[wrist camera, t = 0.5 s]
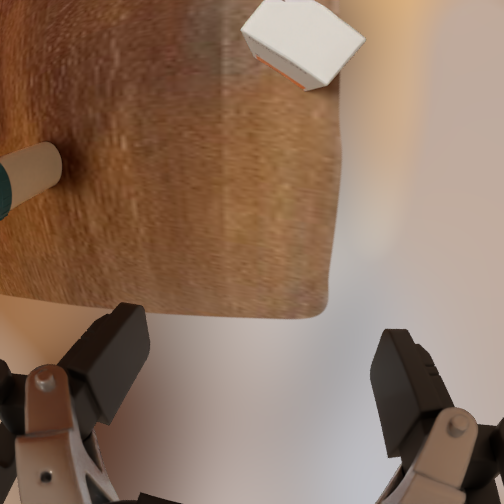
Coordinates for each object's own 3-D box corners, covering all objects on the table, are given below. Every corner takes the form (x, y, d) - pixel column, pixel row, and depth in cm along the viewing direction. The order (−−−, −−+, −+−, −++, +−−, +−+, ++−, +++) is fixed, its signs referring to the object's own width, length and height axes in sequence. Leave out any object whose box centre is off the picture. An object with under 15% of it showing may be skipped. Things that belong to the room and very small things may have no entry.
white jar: (29, 141, 28) (-32, 164, 19) (62, 141, 28) (-2, 164, 19) (31, 186, 31) (-25, 217, 22) (63, 189, 31) (5, 224, 22)
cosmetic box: (252, 58, 24) (235, 28, 13) (278, 25, 22) (279, -22, 11) (306, 94, 25) (327, 88, 14) (332, 61, 23) (370, 37, 12)
